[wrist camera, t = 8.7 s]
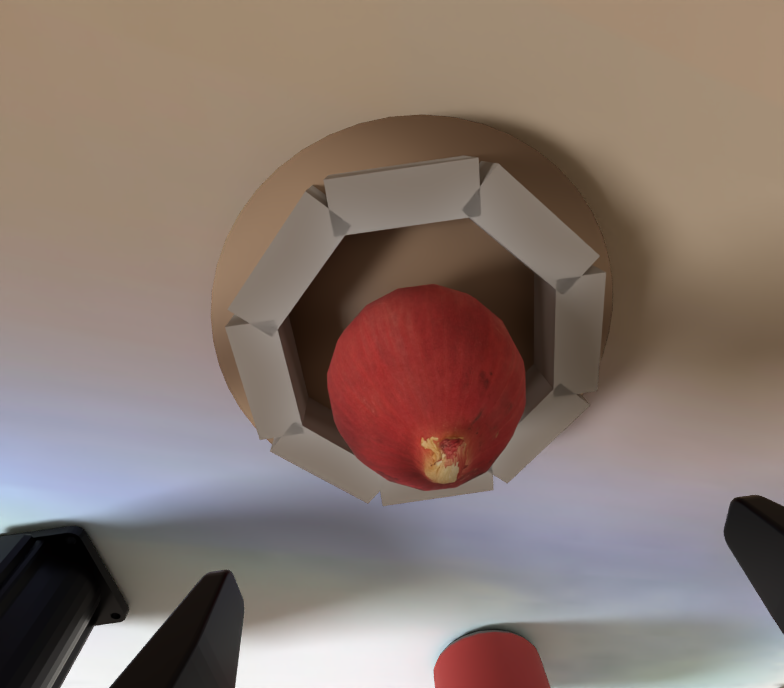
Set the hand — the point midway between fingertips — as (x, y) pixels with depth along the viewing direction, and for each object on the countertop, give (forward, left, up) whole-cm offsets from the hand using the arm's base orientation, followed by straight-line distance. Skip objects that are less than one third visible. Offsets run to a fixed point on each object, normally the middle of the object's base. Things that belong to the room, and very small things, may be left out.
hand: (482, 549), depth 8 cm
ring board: (0, 0, -11) cm, 11 cm away
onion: (0, 0, -10) cm, 10 cm away
